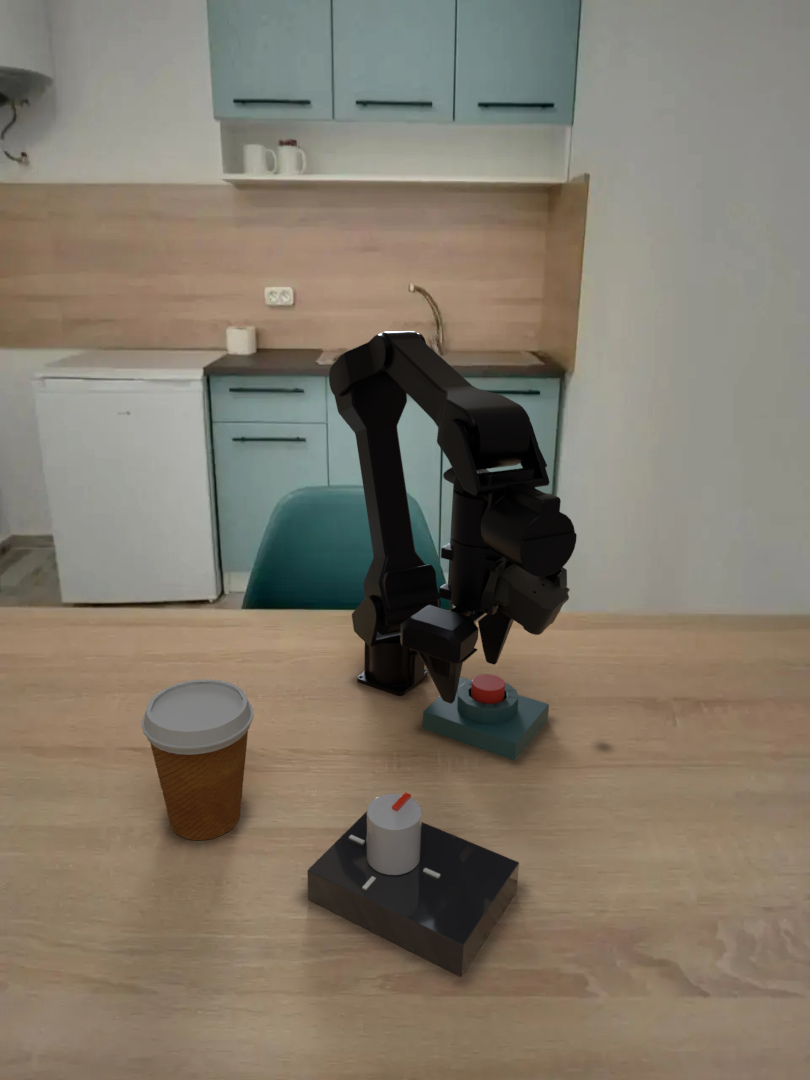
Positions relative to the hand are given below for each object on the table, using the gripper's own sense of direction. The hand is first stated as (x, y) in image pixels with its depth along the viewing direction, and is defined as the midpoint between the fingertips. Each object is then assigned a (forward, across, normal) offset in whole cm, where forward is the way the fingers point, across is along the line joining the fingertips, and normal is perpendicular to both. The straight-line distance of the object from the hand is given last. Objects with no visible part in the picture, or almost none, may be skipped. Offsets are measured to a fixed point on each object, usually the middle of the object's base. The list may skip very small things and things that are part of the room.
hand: (470, 681), depth 84 cm
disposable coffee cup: (+9, -22, +15) cm, 28 cm away
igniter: (+9, +6, +1) cm, 10 cm away
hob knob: (+5, -20, -4) cm, 21 cm away
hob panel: (+8, -20, -6) cm, 22 cm away
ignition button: (+5, +6, +1) cm, 8 cm away
